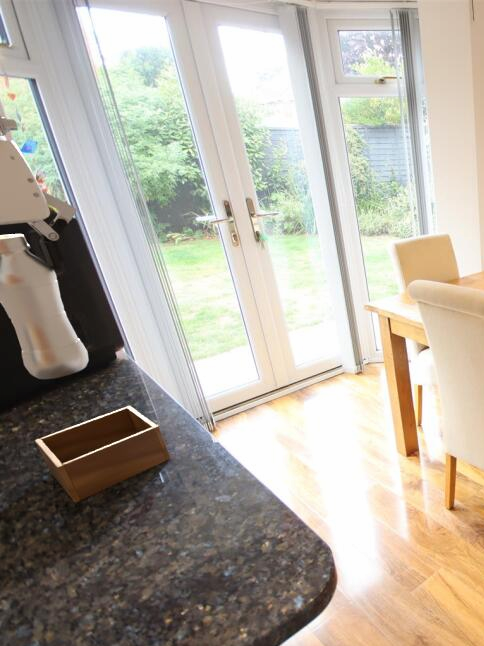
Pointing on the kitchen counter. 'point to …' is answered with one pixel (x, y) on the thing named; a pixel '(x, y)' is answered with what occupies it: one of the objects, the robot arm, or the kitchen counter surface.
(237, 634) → the kitchen counter surface
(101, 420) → the holder
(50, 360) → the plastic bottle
